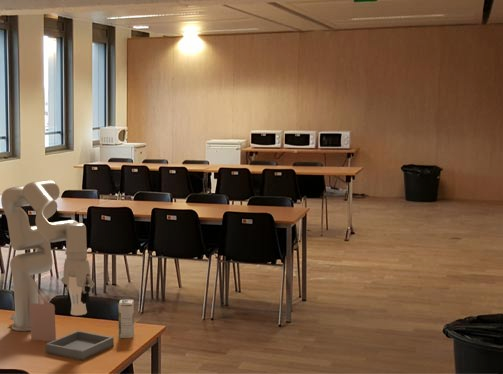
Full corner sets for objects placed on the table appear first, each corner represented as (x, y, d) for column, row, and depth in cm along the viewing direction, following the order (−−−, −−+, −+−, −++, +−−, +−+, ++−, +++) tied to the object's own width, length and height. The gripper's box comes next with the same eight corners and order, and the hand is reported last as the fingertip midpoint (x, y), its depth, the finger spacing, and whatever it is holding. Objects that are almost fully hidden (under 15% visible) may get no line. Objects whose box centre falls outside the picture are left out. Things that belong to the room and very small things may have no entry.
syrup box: (120, 333, 295) (119, 299, 294) (134, 333, 296) (133, 299, 294) (118, 338, 290) (117, 303, 288) (133, 338, 290) (132, 303, 288)
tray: (46, 352, 274) (45, 344, 273) (78, 338, 289) (78, 330, 289) (82, 360, 265) (82, 351, 265) (113, 345, 281) (113, 337, 280)
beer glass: (83, 316, 271) (81, 277, 270) (66, 315, 273) (64, 276, 271) (91, 311, 278) (89, 273, 276) (74, 310, 280) (72, 272, 278)
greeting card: (58, 341, 287) (56, 304, 285) (39, 345, 282) (38, 308, 280) (47, 334, 296) (45, 298, 294) (29, 337, 291) (27, 301, 289)
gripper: (52, 255, 274) (54, 301, 276) (87, 260, 265) (89, 307, 268) (66, 251, 280) (68, 296, 282) (101, 256, 272) (102, 302, 274)
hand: (78, 301), depth 275 cm, fingers closed on beer glass, 6 cm apart
